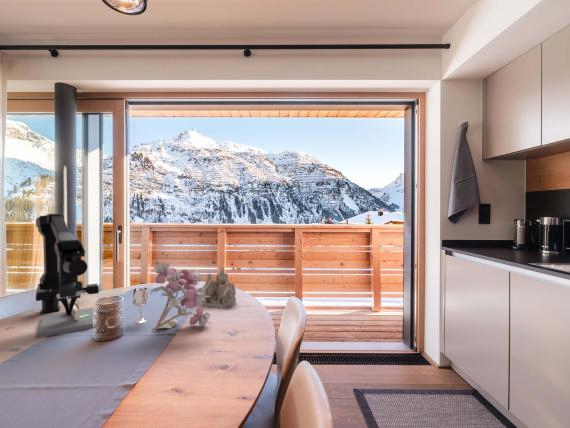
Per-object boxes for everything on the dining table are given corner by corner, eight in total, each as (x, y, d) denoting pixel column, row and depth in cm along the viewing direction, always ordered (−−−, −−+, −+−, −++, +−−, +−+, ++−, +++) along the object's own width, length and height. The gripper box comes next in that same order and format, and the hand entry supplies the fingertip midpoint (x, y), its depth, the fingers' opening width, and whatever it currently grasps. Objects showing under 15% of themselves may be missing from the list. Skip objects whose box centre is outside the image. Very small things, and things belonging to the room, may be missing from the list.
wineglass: (142, 324, 114) (142, 291, 113) (128, 323, 115) (128, 290, 115) (152, 318, 119) (152, 287, 119) (139, 317, 120) (138, 286, 120)
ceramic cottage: (198, 299, 145) (199, 267, 144) (233, 297, 150) (234, 266, 149) (199, 311, 130) (201, 276, 129) (238, 309, 135) (240, 274, 134)
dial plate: (44, 318, 121) (44, 313, 121) (92, 311, 129) (92, 306, 129) (36, 337, 102) (36, 332, 102) (94, 327, 111) (93, 322, 111)
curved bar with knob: (64, 312, 123) (64, 302, 123) (77, 309, 126) (77, 299, 126) (70, 322, 112) (69, 311, 112) (84, 319, 115) (84, 308, 115)
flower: (165, 344, 93) (197, 265, 100) (123, 322, 104) (155, 254, 112) (208, 349, 108) (233, 281, 116) (167, 330, 120) (193, 269, 128)
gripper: (33, 279, 103) (33, 326, 103) (98, 273, 113) (99, 316, 113) (37, 274, 112) (38, 317, 112) (98, 269, 122) (98, 308, 122)
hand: (69, 315), depth 115 cm, fingers closed
